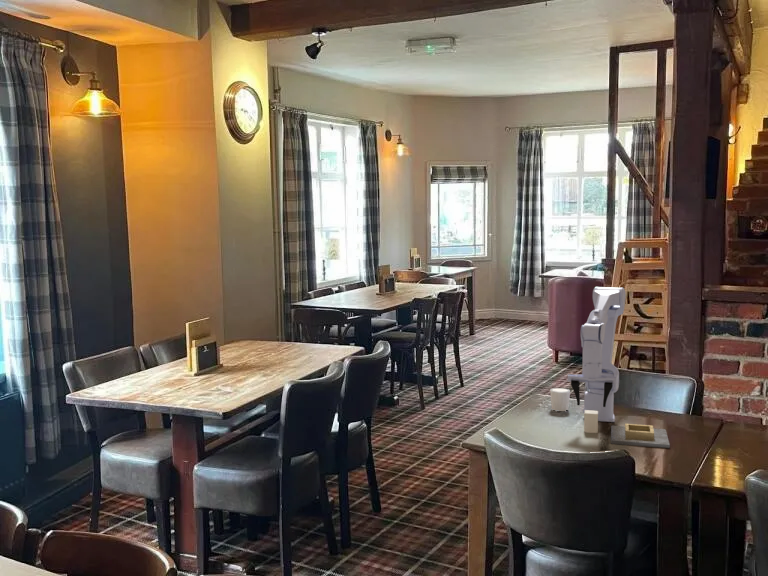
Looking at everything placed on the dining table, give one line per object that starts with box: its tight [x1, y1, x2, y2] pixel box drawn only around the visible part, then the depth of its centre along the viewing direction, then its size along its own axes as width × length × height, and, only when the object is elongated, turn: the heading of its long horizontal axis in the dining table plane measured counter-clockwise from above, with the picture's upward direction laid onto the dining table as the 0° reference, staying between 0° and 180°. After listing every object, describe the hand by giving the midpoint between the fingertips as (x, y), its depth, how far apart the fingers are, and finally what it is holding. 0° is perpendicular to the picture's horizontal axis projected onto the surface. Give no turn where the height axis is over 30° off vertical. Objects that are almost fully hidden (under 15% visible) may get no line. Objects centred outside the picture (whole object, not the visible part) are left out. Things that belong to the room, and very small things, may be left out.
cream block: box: [583, 410, 599, 434], centre depth 225 cm, size 4×4×6 cm
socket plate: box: [610, 423, 671, 449], centre depth 217 cm, size 16×16×3 cm
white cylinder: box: [549, 387, 571, 412], centre depth 250 cm, size 7×7×7 cm
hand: (591, 405), depth 224 cm, fingers open, 7 cm apart
